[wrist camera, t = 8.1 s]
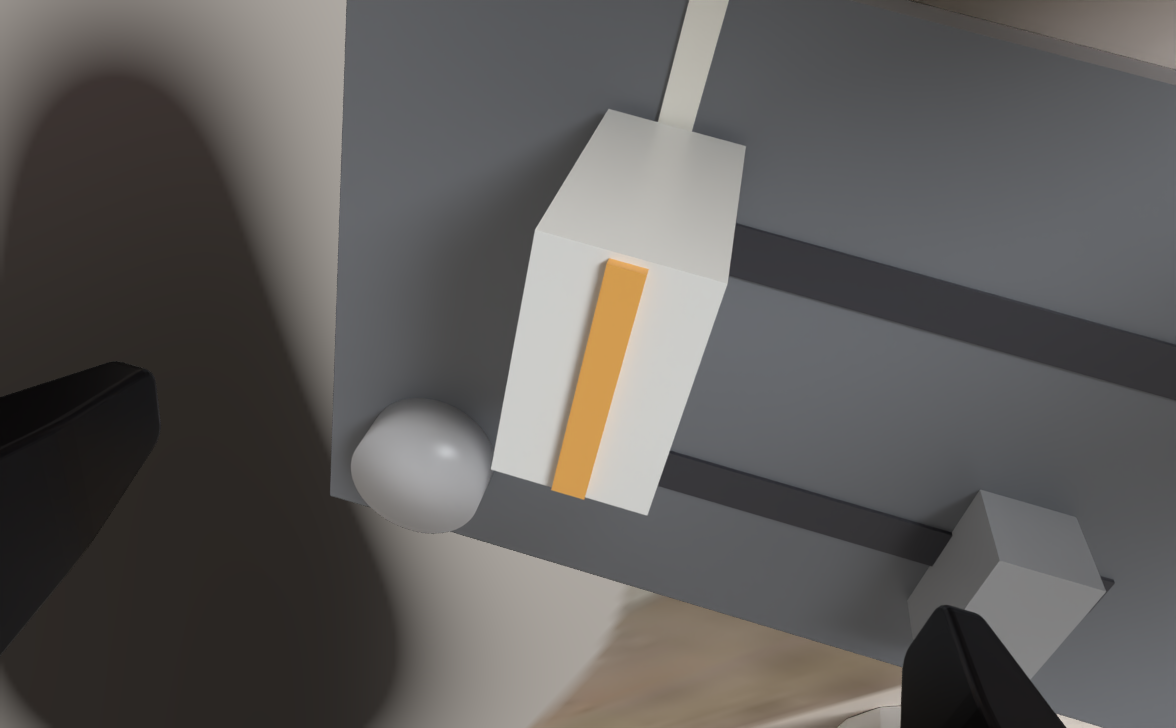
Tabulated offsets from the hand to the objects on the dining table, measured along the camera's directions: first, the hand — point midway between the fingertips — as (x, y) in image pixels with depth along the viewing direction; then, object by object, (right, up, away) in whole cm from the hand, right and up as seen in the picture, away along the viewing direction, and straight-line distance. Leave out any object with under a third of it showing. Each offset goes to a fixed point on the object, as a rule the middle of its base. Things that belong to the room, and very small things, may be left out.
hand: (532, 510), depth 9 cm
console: (+6, +2, +9) cm, 11 cm away
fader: (+2, +4, +6) cm, 7 cm away
